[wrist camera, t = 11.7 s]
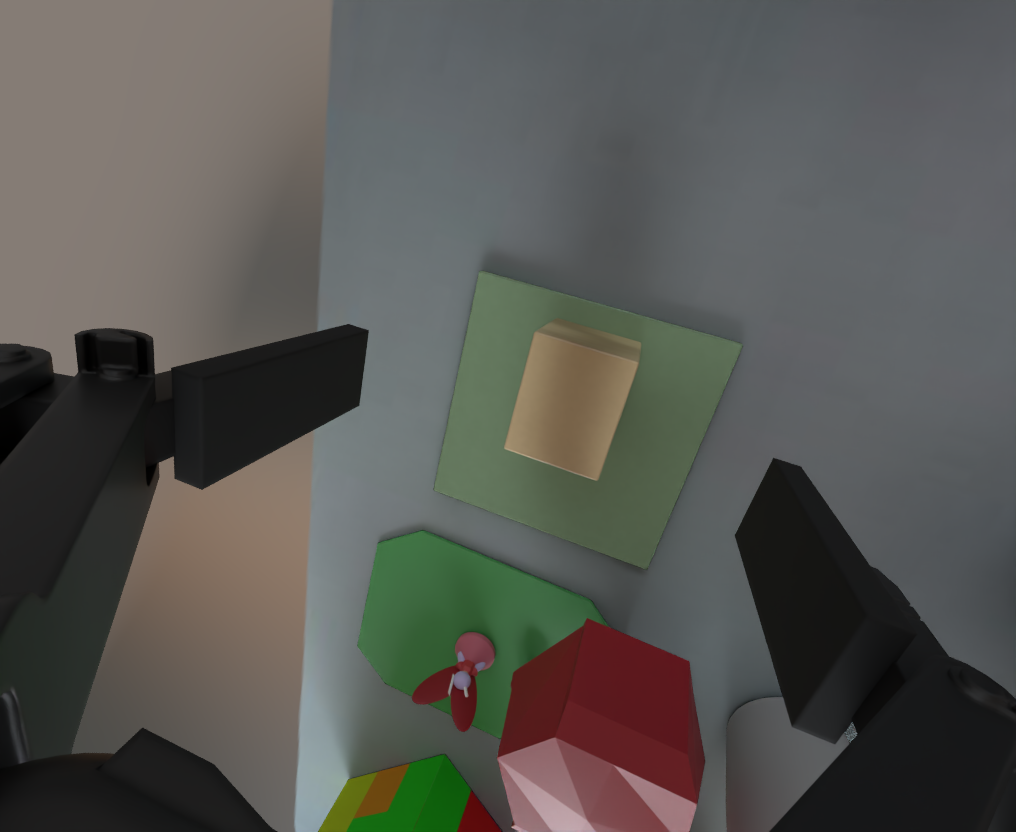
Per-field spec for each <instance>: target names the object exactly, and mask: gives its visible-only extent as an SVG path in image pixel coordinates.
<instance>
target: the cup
mask: <svg viewBox="0 0 1016 832" xmlns="http://www.w3.org/2000/svg"><path fill="white" fill-rule="evenodd" d="M849 744H850V742H849V741H848V739H847V737H846V735H845V734H844V733H843V735H842V736H841V738H840V739H839V740H838V742H837V743H836V744H832V743H830V742H827V741H825V740H822V739H820V738H817V737H815V736H813V735H810V734H808V733H805V732H803V731H800V730H798V729H795V728H793V727H792V726H791V723H790V719H789V716H788V713H787V709H786V706H785V703H784V699H783V697H770V698H760V699H757V700H754V701H751V702H748V703H746V704H745V705H743V706H742V707H740V708H739V709H737V710H736V711H735V713H734V714H733V715H732V716H731V717H730V719H729V722H728V725H727V732H726V824H727V832H769V831H770V830H771V829H772V828H773V827H774V826H775V825H776V824H777V822H778V821H779V820H780V819H781V818H782V817H783V816H784V815H785V814H786V813H787V812H788V810H789V809H790V808H791V807H792V806H793V805H794V804H795V803H796V802H797V801H798V799H799V798H800V797H801V796H802V795H803V794H804V793H805V792H806V791H807V790H808V789H809V787H810V786H811V785H812V784H813V783H814V782H815V781H816V780H817V779H818V778H819V776H820V775H821V774H822V773H823V772H824V771H825V770H826V769H827V768H828V767H829V766H830V764H831V763H832V762H833V761H834V760H835V759H836V758H837V757H838V756H839V755H840V753H841V752H842V751H843V750H844V749H845V748H846V747H847V746H848V745H849Z"/></svg>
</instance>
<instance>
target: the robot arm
mask: <svg viewBox="0 0 1016 832" xmlns="http://www.w3.org/2000/svg"><path fill="white" fill-rule="evenodd" d="M368 333H369V330H366V329H362V328H359V327H356V326H353V325H350V324H347V325H343V326H339V327H335V328H331V329H327V330H323V331H319V332H315V333H310V334H306V335H303V336H298V337H295V338H290V339H286V340H282V341H278V342H274V343H270V344H266V345H262V346H258V347H254V348H250V349H246V350H242V351H238V352H234V353H230V354H226V355H221V356H217V357H214V358H209V359H205V360H201V361H197V362H193V363H189V364H185V365H181V366H177V367H173V368H171V371H167V372H163V373H159V374H155V369H154V349H153V348H154V346H153V338H152V337H151V336H149V335H147V334H145V333H141V332H138V331H133V330H126V329H112V328H105V329H91V330H86V331H81V332H79V333H77V334H75V344H76V353H77V362H78V373H77V375H76V376H75V377H73V376H68V375H62V374H56V373H54V372H53V364H52V357H51V354H50V352H48V351H46V350H43V349H40V348H35V347H30V346H22V345H20V344H0V832H277V831H275V830H274V829H272V828H271V827H270V826H269V825H268V824H267V823H266V822H265V821H264V820H263V819H262V817H261V816H260V815H259V814H258V813H257V812H256V811H255V810H254V808H253V807H252V806H251V805H250V804H249V803H248V802H247V801H246V800H245V798H244V797H243V796H242V795H241V794H240V793H239V792H238V791H237V789H236V788H235V787H234V786H233V785H232V784H231V783H230V782H229V781H228V779H227V778H226V777H225V776H224V775H223V774H222V773H221V772H220V771H219V769H218V768H217V767H216V766H215V765H214V764H212V763H210V762H208V761H206V760H205V759H203V758H201V757H198V756H197V755H195V754H193V753H191V752H189V751H187V750H185V749H183V748H181V747H179V746H177V745H175V744H173V743H172V742H169V741H168V740H166V739H164V738H162V737H160V736H158V735H156V734H154V733H152V732H150V731H148V730H146V729H144V728H142V729H141V730H139V731H138V732H137V733H136V734H135V735H134V736H133V737H132V738H131V739H130V740H129V741H128V742H127V743H126V744H125V745H124V746H122V748H120V749H119V750H118V751H117V752H116V753H115V754H108V753H79V754H71V753H72V747H73V744H74V740H75V737H76V734H77V731H78V728H79V725H80V722H81V719H82V715H83V712H84V709H85V706H86V703H87V700H88V697H89V694H90V691H91V687H92V684H93V681H94V678H95V675H96V672H97V669H98V666H99V663H100V660H101V657H102V653H103V650H104V647H105V644H106V641H107V638H108V635H109V632H110V628H111V626H112V622H113V619H114V616H115V613H116V610H117V607H118V604H119V601H120V598H121V594H122V591H123V588H124V585H125V582H126V579H127V576H128V572H129V569H130V566H131V564H132V560H133V557H134V554H135V551H136V548H137V545H138V541H139V539H140V535H141V532H142V529H143V526H144V523H145V520H146V517H147V514H148V511H149V508H150V505H151V501H152V498H153V495H154V492H155V489H156V486H157V483H158V480H159V462H161V461H164V460H166V459H168V458H170V457H173V456H174V472H175V479H177V480H179V481H182V482H184V483H187V484H189V485H192V486H194V487H197V488H199V489H201V490H202V489H204V488H206V487H208V486H210V485H212V484H214V483H215V482H217V481H219V480H221V479H223V478H225V477H227V476H229V475H230V474H232V473H234V472H236V471H238V470H240V469H242V468H243V467H245V466H247V465H249V464H251V463H253V462H255V461H257V460H258V459H260V458H262V457H264V456H266V455H268V454H270V453H271V452H273V451H275V450H277V449H279V448H280V447H283V446H285V445H286V444H288V443H290V442H292V441H293V440H295V439H298V438H299V437H301V436H303V435H305V434H307V433H309V432H311V431H313V430H314V429H316V428H318V427H320V426H322V425H324V424H326V423H327V422H329V421H331V420H333V419H335V418H337V417H339V416H341V415H342V414H344V413H346V412H348V411H350V410H352V409H354V408H355V407H357V406H359V403H360V395H361V387H362V380H363V372H364V364H365V356H366V348H367V340H368ZM735 538H736V541H737V544H738V548H739V551H740V554H741V558H742V561H743V565H744V568H745V571H746V575H747V578H748V581H749V585H750V588H751V591H752V595H753V598H754V602H755V605H756V608H757V612H758V615H759V618H760V622H761V625H762V629H763V632H764V635H765V639H766V642H767V645H768V649H769V652H770V655H771V659H772V662H773V666H774V669H775V672H776V676H777V679H778V682H779V686H780V689H781V693H782V696H783V699H784V703H785V706H786V709H787V713H788V716H789V719H790V723H791V726H792V727H793V728H795V729H798V730H800V731H803V732H805V733H808V734H810V735H813V736H815V737H817V738H820V739H822V740H825V741H827V742H830V743H832V744H836V743H837V742H838V740H839V739H840V738H841V736H842V735H843V733H844V732H845V731H846V729H847V728H848V727H849V725H850V724H851V723H852V722H853V724H854V726H855V729H856V731H857V733H858V735H857V736H856V737H855V738H854V739H853V740H852V741H851V743H850V744H849V745H848V746H847V747H846V748H845V749H844V750H843V751H842V752H841V753H840V755H839V756H838V757H837V758H836V759H835V760H834V761H833V762H832V763H831V764H830V766H829V767H828V768H827V769H826V770H825V771H824V772H823V773H822V774H821V775H820V776H819V778H818V779H817V780H816V781H815V782H814V783H813V784H812V785H811V786H810V787H809V789H808V790H807V791H806V792H805V793H804V794H803V795H802V796H801V797H800V798H799V799H798V801H797V802H796V803H795V804H794V805H793V806H792V807H791V808H790V809H789V810H788V812H787V813H786V814H785V815H784V816H783V817H782V818H781V819H780V820H779V821H778V822H777V824H776V825H775V826H774V827H773V828H772V829H771V830H770V831H769V832H1016V699H1015V698H1014V697H1013V696H1012V695H1011V694H1010V693H1009V692H1008V691H1007V690H1006V689H1004V688H1003V687H1002V686H1000V685H999V684H998V683H996V682H995V681H994V680H992V679H991V678H990V677H988V676H987V675H985V674H984V673H982V672H980V671H978V670H977V669H975V668H973V667H971V666H970V665H968V664H966V663H963V662H961V661H959V660H956V659H954V658H951V657H949V656H948V654H947V653H946V652H945V650H944V649H943V648H942V646H941V645H940V644H939V642H938V641H937V639H936V638H935V637H934V635H933V634H932V633H931V631H930V630H929V629H928V627H927V626H926V625H925V623H924V622H923V621H921V620H920V616H919V615H918V614H917V612H916V611H915V610H914V608H913V607H911V606H910V603H909V601H908V600H907V599H906V597H905V596H904V595H903V593H902V592H901V590H900V589H899V588H898V586H896V585H895V584H894V583H893V582H892V581H891V580H890V579H888V578H887V577H886V576H885V575H884V574H883V573H881V572H880V571H879V570H878V569H876V568H873V567H871V566H870V565H869V564H868V562H867V561H866V559H865V558H864V556H863V555H862V554H861V552H860V551H859V549H858V548H857V546H856V545H855V543H854V542H853V541H852V539H851V538H850V536H849V535H848V533H847V532H846V531H845V529H844V528H843V526H842V525H841V523H840V522H839V520H838V519H837V518H836V516H835V515H834V513H833V512H832V510H831V509H830V508H829V506H828V505H827V503H826V502H825V500H824V499H823V497H822V496H821V495H820V493H819V492H818V490H817V489H816V487H815V486H814V485H813V483H812V482H811V480H810V479H809V477H808V476H807V474H806V473H805V472H804V470H803V469H802V467H801V466H797V465H794V464H791V463H788V462H785V461H782V460H778V459H775V458H773V460H772V462H771V464H770V466H769V468H768V470H767V472H766V474H765V476H764V478H763V480H762V482H761V484H760V486H759V488H758V490H757V492H756V494H755V496H754V498H753V500H752V502H751V504H750V506H749V508H748V510H747V512H746V514H745V516H744V518H743V520H742V522H741V524H740V526H739V528H738V530H737V532H736V534H735Z"/></svg>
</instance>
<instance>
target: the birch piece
mask: <svg viewBox="0 0 1016 832" xmlns="http://www.w3.org/2000/svg"><path fill="white" fill-rule="evenodd" d="M640 353H641V343H640V342H638V341H634V340H631V339H627V338H624V337H621V336H617V335H614V334H610V333H607V332H603V331H600V330H597V329H593V328H590V327H586V326H583V325H579V324H576V323H573V322H569V321H566V320H562V319H559V318H556V319H554V320H553V321H551V322H549V323H548V324H546V325H545V326H543V327H541V328H540V329H538V330H537V331H535V332H534V335H533V338H532V342H531V346H530V350H529V354H528V357H527V361H526V365H525V369H524V373H523V376H522V380H521V384H520V388H519V392H518V396H517V399H516V403H515V407H514V411H513V415H512V418H511V422H510V426H509V430H508V434H507V437H506V441H505V445H504V449H506V450H509V451H512V452H515V453H518V454H521V455H524V456H526V457H529V458H532V459H535V460H538V461H541V462H544V463H547V464H549V465H552V466H555V467H558V468H561V469H564V470H567V471H570V472H572V473H575V474H578V475H581V476H584V477H587V478H590V479H593V480H595V481H597V480H598V479H599V477H600V474H601V471H602V468H603V465H604V463H605V460H606V457H607V454H608V451H609V448H610V446H611V443H612V440H613V437H614V434H615V431H616V429H617V426H618V423H619V420H620V417H621V414H622V412H623V409H624V406H625V403H626V400H627V397H628V395H629V392H630V389H631V386H632V383H633V380H634V377H635V375H636V372H637V369H638V366H639V361H640Z"/></svg>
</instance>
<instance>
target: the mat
mask: <svg viewBox="0 0 1016 832" xmlns="http://www.w3.org/2000/svg"><path fill="white" fill-rule="evenodd" d="M556 318H559V319H562V320H566V321H569V322H573V323H576V324H579V325H583V326H586V327H590V328H593V329H597V330H600V331H603V332H607V333H610V334H614V335H617V336H621V337H624V338H627V339H631V340H634V341H638V342H640V343H641V353H640V361H639V366H638V369H637V372H636V375H635V377H634V380H633V383H632V386H631V389H630V392H629V395H628V397H627V400H626V403H625V406H624V409H623V412H622V414H621V417H620V420H619V423H618V426H617V429H616V431H615V434H614V437H613V440H612V443H611V446H610V448H609V451H608V454H607V457H606V460H605V463H604V465H603V468H602V471H601V474H600V477H599V479H598V480H597V481H595V480H593V479H590V478H587V477H584V476H581V475H578V474H575V473H572V472H570V471H567V470H564V469H561V468H558V467H555V466H552V465H549V464H547V463H544V462H541V461H538V460H535V459H532V458H529V457H526V456H524V455H521V454H518V453H515V452H512V451H509V450H506V449H504V445H505V441H506V437H507V434H508V430H509V426H510V422H511V418H512V415H513V411H514V407H515V403H516V399H517V396H518V392H519V388H520V384H521V380H522V376H523V373H524V369H525V365H526V361H527V357H528V354H529V350H530V346H531V342H532V338H533V335H534V332H535V331H537V330H538V329H540V328H541V327H543V326H545V325H546V324H548V323H549V322H551V321H553V320H554V319H556ZM742 347H743V345H742V344H741V343H738V342H735V341H731V340H728V339H724V338H721V337H717V336H714V335H710V334H706V333H703V332H699V331H696V330H692V329H689V328H685V327H681V326H678V325H674V324H671V323H667V322H664V321H660V320H656V319H653V318H649V317H646V316H642V315H639V314H635V313H632V312H628V311H624V310H621V309H617V308H614V307H610V306H607V305H603V304H599V303H596V302H592V301H589V300H585V299H582V298H578V297H575V296H571V295H567V294H564V293H560V292H557V291H553V290H550V289H546V288H542V287H539V286H535V285H532V284H528V283H525V282H521V281H518V280H514V279H510V278H507V277H503V276H500V275H496V274H493V273H489V272H485V271H479V275H478V280H477V284H476V289H475V294H474V299H473V303H472V308H471V313H470V318H469V322H468V327H467V332H466V337H465V342H464V346H463V351H462V356H461V361H460V365H459V370H458V375H457V380H456V384H455V389H454V394H453V399H452V404H451V408H450V413H449V418H448V423H447V427H446V432H445V437H444V442H443V446H442V451H441V456H440V461H439V466H438V470H437V475H436V480H435V485H434V491H436V492H439V493H442V494H444V495H447V496H450V497H452V498H455V499H458V500H460V501H463V502H466V503H468V504H471V505H474V506H476V507H479V508H482V509H485V510H487V511H490V512H493V513H495V514H498V515H501V516H503V517H506V518H509V519H511V520H514V521H517V522H519V523H522V524H525V525H527V526H530V527H533V528H535V529H538V530H541V531H543V532H546V533H549V534H551V535H554V536H557V537H560V538H562V539H565V540H568V541H570V542H573V543H576V544H578V545H581V546H584V547H586V548H589V549H592V550H594V551H597V552H600V553H602V554H605V555H608V556H610V557H613V558H616V559H618V560H621V561H624V562H626V563H629V564H632V565H635V566H637V567H640V568H643V569H645V570H647V569H648V567H649V564H650V562H651V560H652V557H653V555H654V553H655V550H656V548H657V546H658V543H659V541H660V539H661V536H662V534H663V532H664V529H665V527H666V525H667V522H668V520H669V518H670V515H671V513H672V511H673V508H674V506H675V504H676V501H677V499H678V497H679V494H680V492H681V490H682V487H683V485H684V482H685V480H686V478H687V475H688V473H689V471H690V468H691V466H692V464H693V461H694V459H695V457H696V454H697V452H698V450H699V447H700V445H701V443H702V440H703V438H704V436H705V433H706V431H707V429H708V426H709V424H710V422H711V419H712V417H713V415H714V412H715V410H716V408H717V405H718V403H719V401H720V398H721V396H722V394H723V391H724V389H725V387H726V384H727V382H728V380H729V377H730V375H731V373H732V370H733V368H734V366H735V363H736V361H737V359H738V356H739V354H740V352H741V349H742Z"/></svg>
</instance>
